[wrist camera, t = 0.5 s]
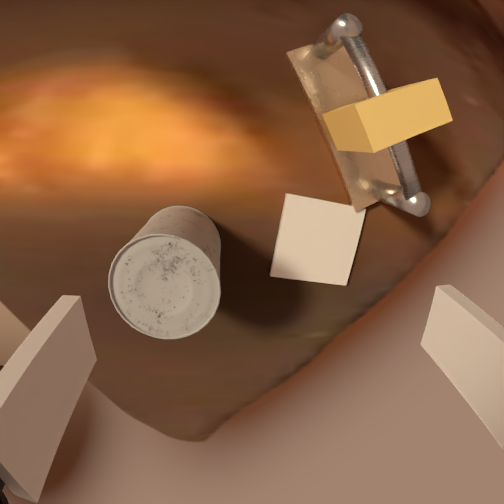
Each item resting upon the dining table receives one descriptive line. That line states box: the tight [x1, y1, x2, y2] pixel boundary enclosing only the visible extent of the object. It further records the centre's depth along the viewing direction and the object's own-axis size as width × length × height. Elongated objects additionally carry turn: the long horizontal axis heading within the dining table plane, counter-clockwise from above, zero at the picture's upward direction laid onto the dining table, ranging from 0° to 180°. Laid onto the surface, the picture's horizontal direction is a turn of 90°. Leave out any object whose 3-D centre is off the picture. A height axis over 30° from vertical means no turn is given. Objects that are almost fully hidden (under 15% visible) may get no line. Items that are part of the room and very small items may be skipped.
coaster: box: [270, 193, 366, 286], centre depth 38 cm, size 10×10×1 cm
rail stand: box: [284, 14, 431, 217], centre depth 30 cm, size 20×8×10 cm, turn 25°
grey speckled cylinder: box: [108, 206, 221, 339], centre depth 31 cm, size 10×10×12 cm
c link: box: [322, 78, 453, 153], centre depth 26 cm, size 9×4×8 cm, turn 115°
